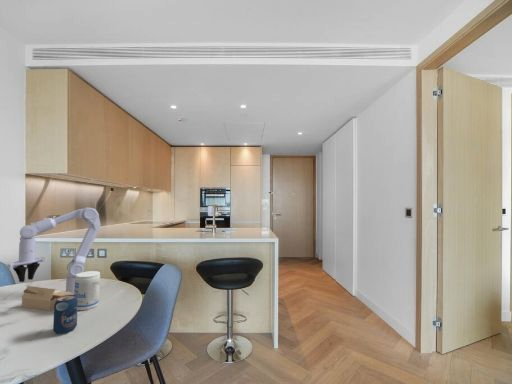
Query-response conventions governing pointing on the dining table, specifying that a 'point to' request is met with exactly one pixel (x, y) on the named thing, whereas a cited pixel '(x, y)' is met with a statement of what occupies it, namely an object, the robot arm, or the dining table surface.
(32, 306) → the carton
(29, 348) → the dining table surface
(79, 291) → the supplement tub
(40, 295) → the far flap
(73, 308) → the soda can
